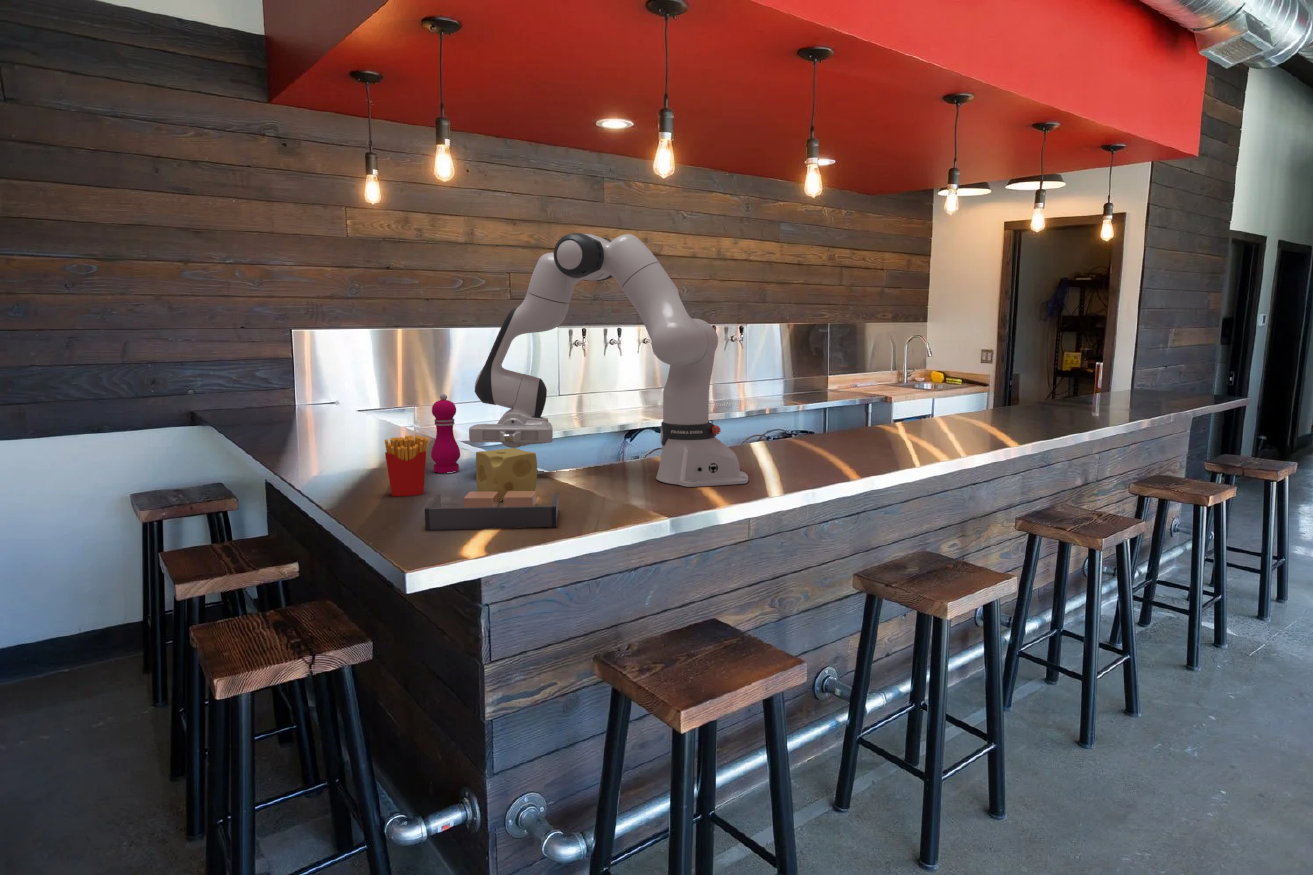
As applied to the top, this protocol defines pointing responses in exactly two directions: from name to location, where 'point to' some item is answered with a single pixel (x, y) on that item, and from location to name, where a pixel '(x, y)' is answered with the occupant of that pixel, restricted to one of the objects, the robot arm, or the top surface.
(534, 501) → the tile
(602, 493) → the top surface
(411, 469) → the french fries
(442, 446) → the pepper mill
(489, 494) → the tile
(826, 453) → the top surface
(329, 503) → the top surface
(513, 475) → the cheese
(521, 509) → the box
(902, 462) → the top surface
